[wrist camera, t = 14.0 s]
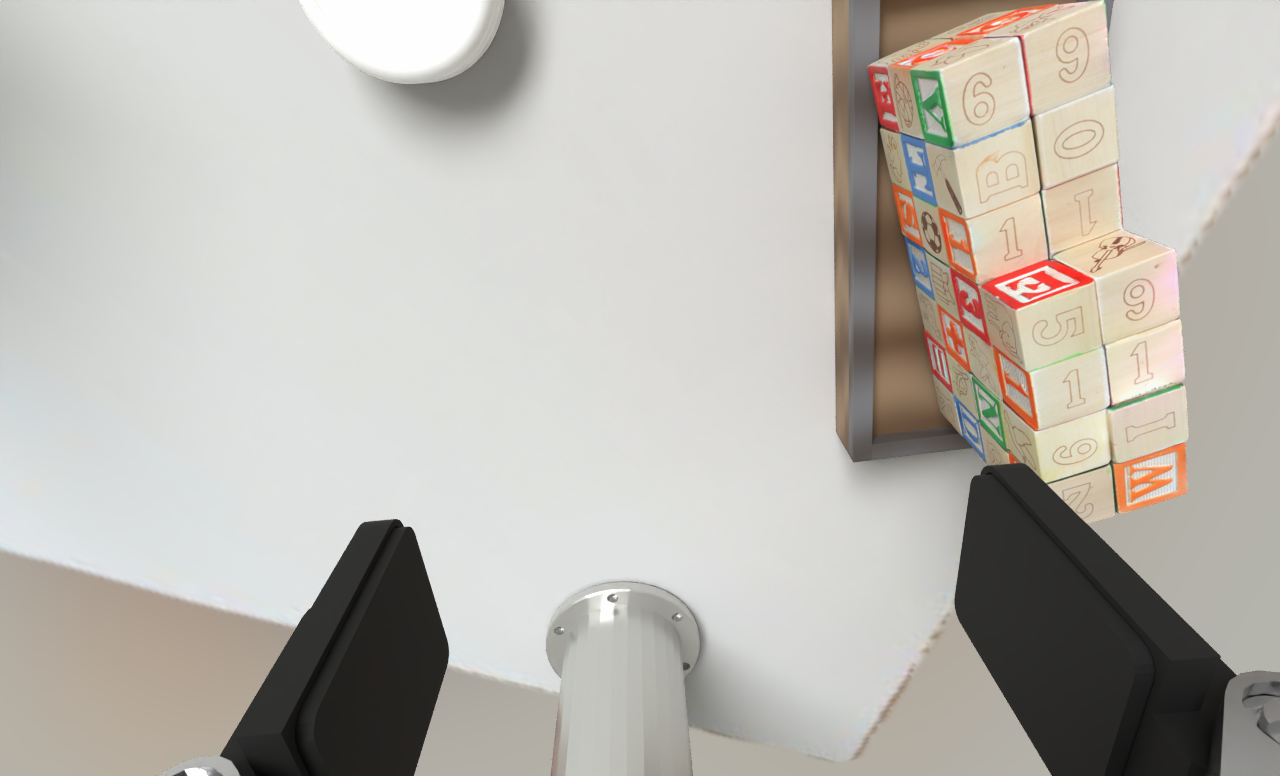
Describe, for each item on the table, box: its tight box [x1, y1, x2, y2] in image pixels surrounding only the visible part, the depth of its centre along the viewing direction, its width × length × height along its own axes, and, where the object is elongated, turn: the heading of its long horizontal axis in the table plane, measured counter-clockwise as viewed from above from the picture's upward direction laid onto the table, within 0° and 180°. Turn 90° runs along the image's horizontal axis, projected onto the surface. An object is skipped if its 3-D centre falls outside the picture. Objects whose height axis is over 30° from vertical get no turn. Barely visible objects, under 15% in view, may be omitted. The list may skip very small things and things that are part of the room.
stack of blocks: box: [867, 0, 1189, 524], centre depth 31 cm, size 21×6×12 cm, turn 22°
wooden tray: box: [832, 0, 1114, 462], centre depth 39 cm, size 27×12×4 cm, turn 8°
